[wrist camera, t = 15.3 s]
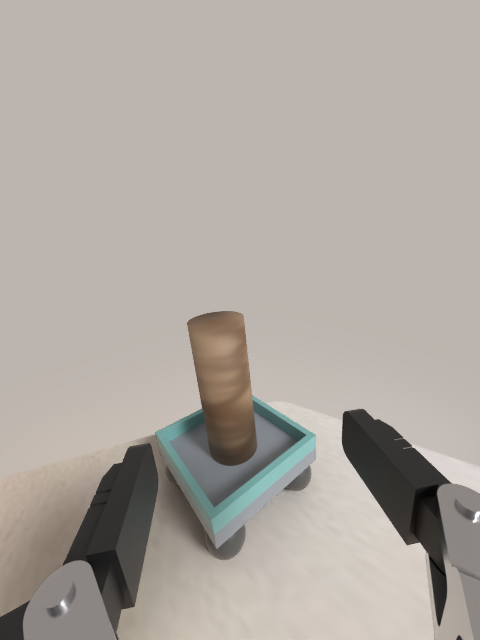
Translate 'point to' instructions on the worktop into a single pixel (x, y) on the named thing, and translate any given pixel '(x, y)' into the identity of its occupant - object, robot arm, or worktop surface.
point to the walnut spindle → (224, 385)
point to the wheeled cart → (236, 473)
